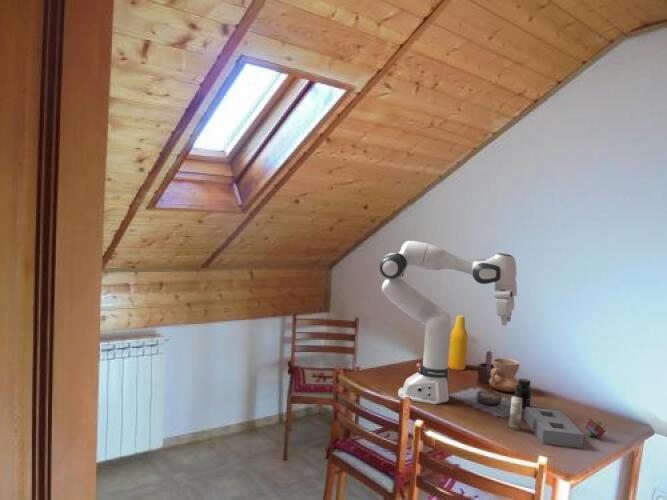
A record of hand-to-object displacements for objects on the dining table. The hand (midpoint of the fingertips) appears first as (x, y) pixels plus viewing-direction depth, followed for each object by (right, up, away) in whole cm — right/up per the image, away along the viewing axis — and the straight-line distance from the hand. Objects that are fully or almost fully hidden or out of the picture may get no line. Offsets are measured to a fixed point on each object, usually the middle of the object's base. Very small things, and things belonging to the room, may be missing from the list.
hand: (506, 323), depth 217 cm
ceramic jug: (+8, -37, +29) cm, 48 cm away
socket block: (+10, -39, -21) cm, 46 cm away
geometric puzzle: (+26, -41, -23) cm, 53 cm away
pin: (-4, -38, -20) cm, 43 cm away
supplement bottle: (+9, -38, +6) cm, 39 cm away
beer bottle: (-6, -34, +63) cm, 72 cm away
